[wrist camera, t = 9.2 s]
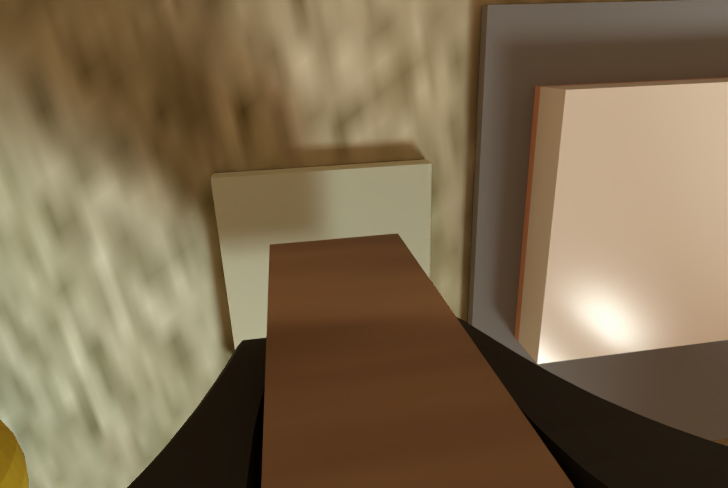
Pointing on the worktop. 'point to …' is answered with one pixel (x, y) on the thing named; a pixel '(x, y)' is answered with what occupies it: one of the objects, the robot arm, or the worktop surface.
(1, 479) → the lemon
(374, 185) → the board
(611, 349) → the tile
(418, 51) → the worktop surface
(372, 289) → the block
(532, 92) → the mat
